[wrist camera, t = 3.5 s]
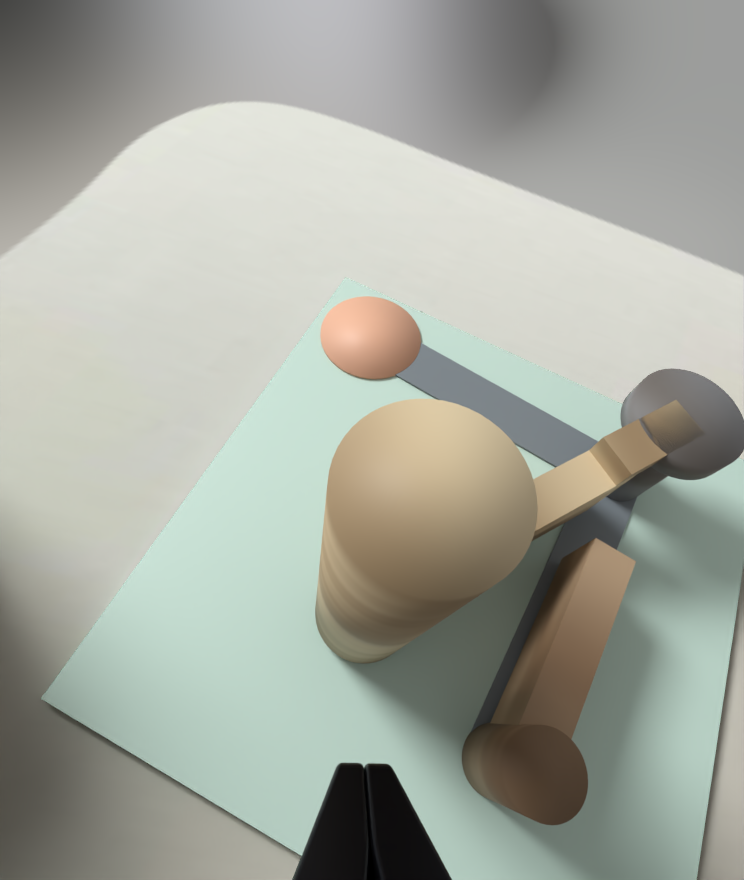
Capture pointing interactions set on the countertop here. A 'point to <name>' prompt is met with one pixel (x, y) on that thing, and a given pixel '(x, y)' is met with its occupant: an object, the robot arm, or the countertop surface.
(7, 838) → the countertop surface
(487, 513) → the rail
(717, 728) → the card
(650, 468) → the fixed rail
